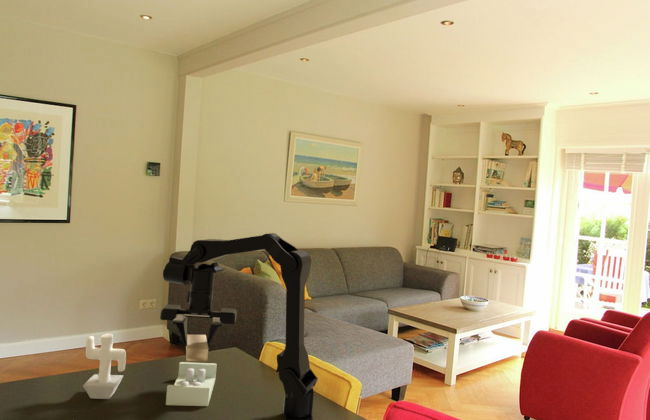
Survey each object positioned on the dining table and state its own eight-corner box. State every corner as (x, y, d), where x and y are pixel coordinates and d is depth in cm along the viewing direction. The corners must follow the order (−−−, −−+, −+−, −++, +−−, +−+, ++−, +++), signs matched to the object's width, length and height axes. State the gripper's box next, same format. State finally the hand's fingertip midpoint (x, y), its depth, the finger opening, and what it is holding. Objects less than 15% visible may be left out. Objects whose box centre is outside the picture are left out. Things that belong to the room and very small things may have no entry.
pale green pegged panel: (215, 379, 133) (216, 363, 133) (207, 406, 116) (209, 388, 116) (178, 378, 132) (180, 362, 132) (165, 404, 115) (167, 386, 115)
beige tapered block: (204, 345, 130) (205, 334, 130) (207, 360, 119) (208, 349, 119) (185, 345, 129) (186, 334, 129) (186, 361, 117) (187, 349, 117)
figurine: (118, 401, 114) (122, 340, 114) (76, 400, 113) (81, 338, 113) (127, 389, 122) (131, 331, 121) (88, 388, 120) (93, 329, 120)
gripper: (240, 284, 133) (235, 339, 133) (171, 279, 130) (166, 335, 131) (237, 292, 122) (232, 352, 122) (162, 287, 119) (157, 348, 120)
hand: (196, 346), depth 124 cm, fingers closed on beige tapered block, 5 cm apart
